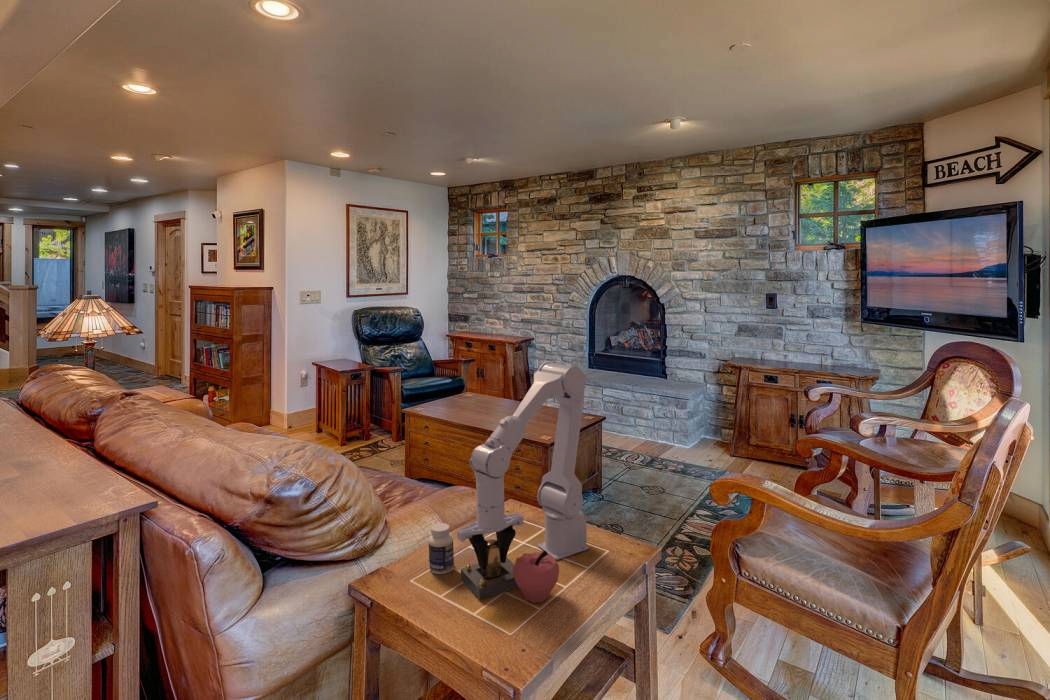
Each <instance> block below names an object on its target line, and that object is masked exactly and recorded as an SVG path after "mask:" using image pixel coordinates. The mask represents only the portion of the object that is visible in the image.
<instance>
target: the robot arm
mask: <svg viewBox="0 0 1050 700" xmlns="http://www.w3.org/2000/svg"><path fill="white" fill-rule="evenodd" d="M533 374H534V375H533V383H532V384H531V386H530V387H529V389H528V391H527V393H526V394H525V395H524V397H523V399H522V400H521V402H520V403H519V405H518V406H517V408H516V409H515V411H514V413H513V414H512V415H508V416H504V417H503V418H501V419H500V420H499V422H498V425H497V426H496V428H495V429H494V431H493V432H492V433H491V434H490V436H489V437H488V438H487V439H486V441H485V442H484V443H481V444H480V445H478V446H476V447H475V448H474V449H473V451H472V452H471V454H470V455H471V457H470V459H468V463H469V466H470V467H471V469H472V471H473V474H474V478H475V487H476V489H475V490H476V491H475V492H476V519H477V520H475V521H473V522H472V523H470V524H468V525H465V526H464V527H461V528H458V529H456V531H457V532H456V533H457V539H458V541H460V542H461V543H463V542H466V541H467V540H469V542H470V544H471V546H472V548H473V550H474V553H475V555H476V559H477V562H478V563H477V564H479V566H480V567H481V568H482V569H483V570H484V569H486V550H487V544H488V542H487V541H486V539H485V536H484V535H486V534H494V533H495V536H496V540H497V541H498V542H500V544H501V562H502V563H505V562H506V557H507V556H508V552H509V549H510V546H511V544H512V542H513V540H514V539H515V537H516V530H515V529H514V526H524V515H522V513H520V512H517V513H512V514H510V513H509V514H506V513H505V479H504V478H505V476H504V475H505V473H506V472H508V470H509V468H510V463H511V458H512V457H513V452H514V451H515V449H516V448H517V447H518V446H519V444H520V442H521V441H522V440H523V438H525V436H526V435H527V424H528V423H529V422H530V420H531V419H532V418H533V417H534V416H535V415H536V413H537V412H538V411H539V410H540V409H541V407H542V406H544V404H545V403H546V402H547V401H548V400H549V399H550V400H551V399H555V400H556V402H557V403H558V404H559V408H558V416H557V423H556V429H555V437H554V445H553V446H554V447H553V453H552V460H551V461H552V462H551V468H550V471H549V472H547V473H545V474H544V475H542V479H541V483H540V486H539V488H538V490H537V494H536V495H537V497H536V498H537V502H538V504H539V505H540V506H541V507H542V511H543V513H544V541H543V542H541V543H540V542H539V543H538V544H537V547H538V548H540V549H541V550H543V551H544V550H545V551H546V552H547V553H548V555H549V556H553V558H554V559H555V561H557V560H561V559H563V558H567V557H569V556H570V557H571V556H573V555H575V554H578V553H582V552H584V551H587V550H589V546H588V545H587V544H588V543H587V539H588V538H587V534H588V533H587V531H588V530H587V518H586V515H585V514H584V512H583V510H582V507H583V503H584V502H583V501H584V498H583V494H582V493H583V485H582V483H581V481H580V480H579V478H578V477H577V475H576V474H575V470H576V463H577V462H576V461H577V456H578V448H579V447H578V446H579V440H580V439H579V438H580V431H581V425H582V424H581V423H582V418H583V410H584V403H585V402H584V401H585V389H586V381H587V376H586V374H585V373H584V372H583V370H582V368H580V367H579V366H576V365H566V364H559V363H553V362H550V361H545V362H543V363H542V364H541V365H540V366H539V367H538V369H537V371H536V372H535V373H533ZM543 551H542V552H543ZM507 558H508V557H507Z"/></svg>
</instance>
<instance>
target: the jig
mask: <svg viewBox="0 0 1050 700" xmlns="http://www.w3.org/2000/svg"><path fill="white" fill-rule="evenodd" d="M514 565H515V562H513V561H511V560H510V559H509V557H506V562H505V563H502V562H501V573H500V574H499V575H500V576H497V577H496V578H492V579H489V580H486V579H485V578H486V577H487V578H488V576H485V575H483V573H482V568H481V567H480V566H479V564H478V563H476V564H470V563H467V564H466V565H465V567H462V568H460V580H461V581H462V583H463V584H464V585H465V586H466V587H467V588H468V589H469V590H470V592H471V593H472V594H473V595H474V596H475V597H476V599H477V600H478V601H483V600H486V599H489V598H492V597H494V596H498V595H500V594H503V593H506V592H508V591H511V590H512V591H513V590H514V589H519V587H518V585H517V583H516V581H515V578H514V574H513V567H514Z"/></svg>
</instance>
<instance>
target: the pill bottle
mask: <svg viewBox="0 0 1050 700" xmlns="http://www.w3.org/2000/svg"><path fill="white" fill-rule="evenodd" d="M430 529H431V530H430V532H431V533H430V534H431V535H429V538H428V562H429V563H428V564H429V570H430V572H431V573H432V574H435V575H445V574H448V573H450V572H452V571H453V569H454V567H455V558H454V557H455V554H454V552H455V551H454V538H453V537H454V536H453V535H452V534H451V533H450V532H451V531H450V530H451V529H450V525H449V524H448V523H445V522H444V523H443V522H442V523H435V524H433V525H431V527H430Z"/></svg>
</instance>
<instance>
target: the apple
mask: <svg viewBox="0 0 1050 700" xmlns="http://www.w3.org/2000/svg"><path fill="white" fill-rule="evenodd" d="M514 564H515V565H514V567H513V574H514V578H515V581H516V583H517V585H518V589H519V590H520V591H521V593H522V594H523V595H524V597H525V599H526V600H528V601H529V602H531V603H533V604H534V603H543V602H544V601H545V599H547V598H548V597H549V596H550V593H551V592H552V590H553V589H554V588H555V585H556V584H557V583H558V581H559V580H558V579H559V574H560V566H559V564H558V563H557V560H555V559H554V558H553V556H550V555H549V554H548V553H547V552H546V551H545V550H544V551H542V552H539V551H537V552H532V553H527V552H525V553H523V554H522V555H521V556H520V557H517V558H516V559H515V562H514Z"/></svg>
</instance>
